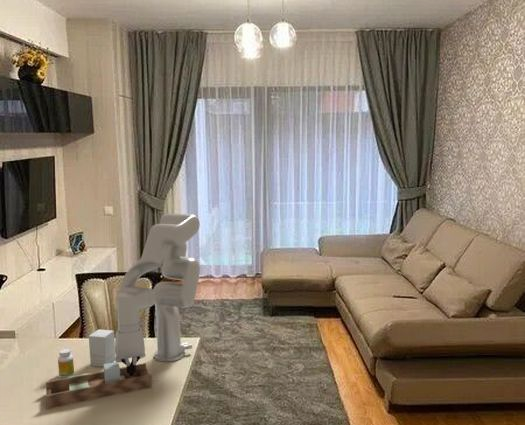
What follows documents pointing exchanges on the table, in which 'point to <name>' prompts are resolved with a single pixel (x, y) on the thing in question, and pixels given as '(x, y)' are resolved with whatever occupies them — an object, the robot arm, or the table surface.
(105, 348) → the supplement box
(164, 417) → the table surface
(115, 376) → the block
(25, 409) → the table surface
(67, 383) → the box
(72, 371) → the supplement bottle
